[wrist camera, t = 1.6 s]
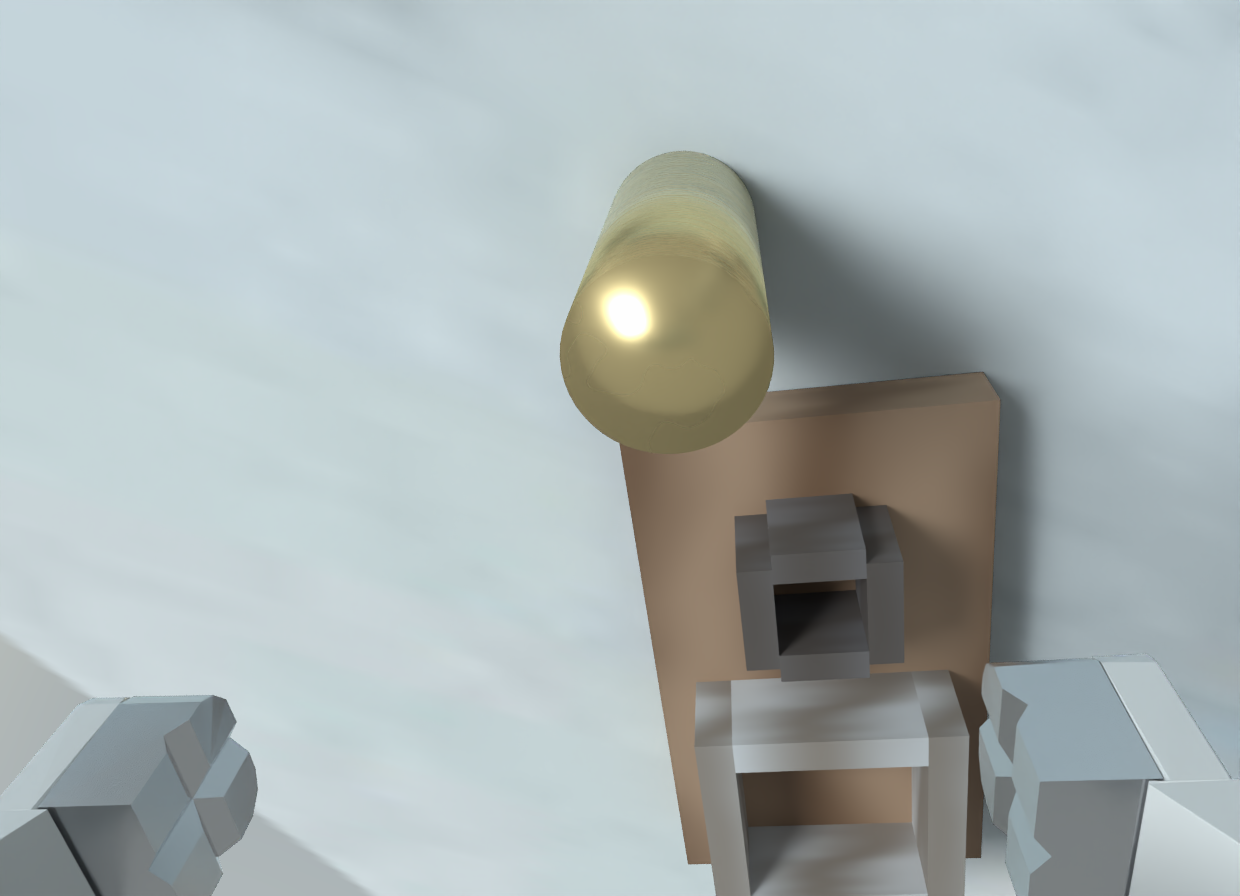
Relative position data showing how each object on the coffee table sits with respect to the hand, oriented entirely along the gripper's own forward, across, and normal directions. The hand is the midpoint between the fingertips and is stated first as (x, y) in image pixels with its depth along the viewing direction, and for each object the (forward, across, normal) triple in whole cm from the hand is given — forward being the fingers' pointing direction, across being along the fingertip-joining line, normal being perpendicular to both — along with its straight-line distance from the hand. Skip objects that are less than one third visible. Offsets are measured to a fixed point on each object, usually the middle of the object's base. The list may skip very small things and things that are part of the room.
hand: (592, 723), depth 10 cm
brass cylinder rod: (+20, 0, 0) cm, 20 cm away
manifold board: (+20, -4, +15) cm, 25 cm away
